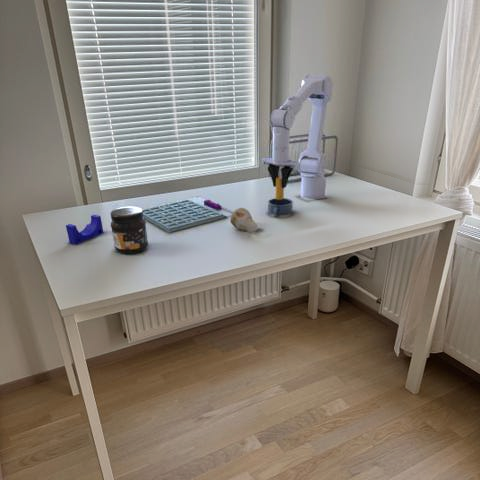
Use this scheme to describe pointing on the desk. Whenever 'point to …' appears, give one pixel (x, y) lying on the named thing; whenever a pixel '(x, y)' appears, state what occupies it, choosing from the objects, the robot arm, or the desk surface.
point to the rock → (243, 220)
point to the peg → (279, 189)
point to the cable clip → (85, 230)
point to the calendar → (183, 213)
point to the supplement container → (129, 230)
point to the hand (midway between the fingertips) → (279, 186)
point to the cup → (280, 206)
